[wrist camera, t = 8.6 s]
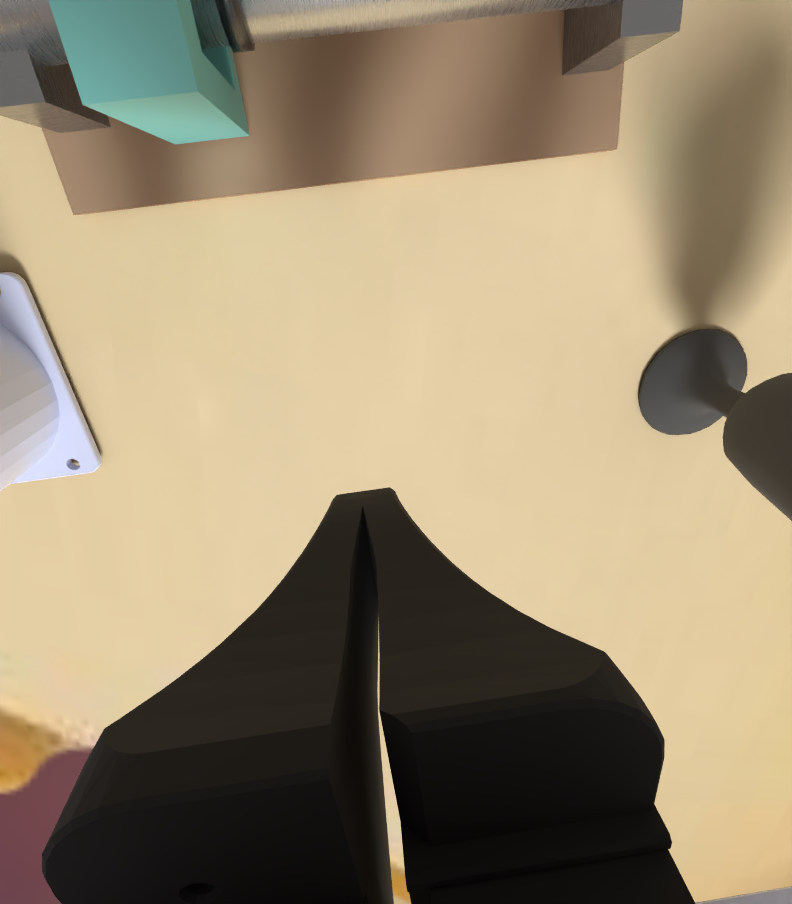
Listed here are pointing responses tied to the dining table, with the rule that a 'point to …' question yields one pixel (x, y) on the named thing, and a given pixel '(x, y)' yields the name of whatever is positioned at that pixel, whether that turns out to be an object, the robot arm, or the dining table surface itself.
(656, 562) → the dining table surface
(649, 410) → the sundae
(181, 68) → the collar
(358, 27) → the metal rail stand
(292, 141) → the base board
